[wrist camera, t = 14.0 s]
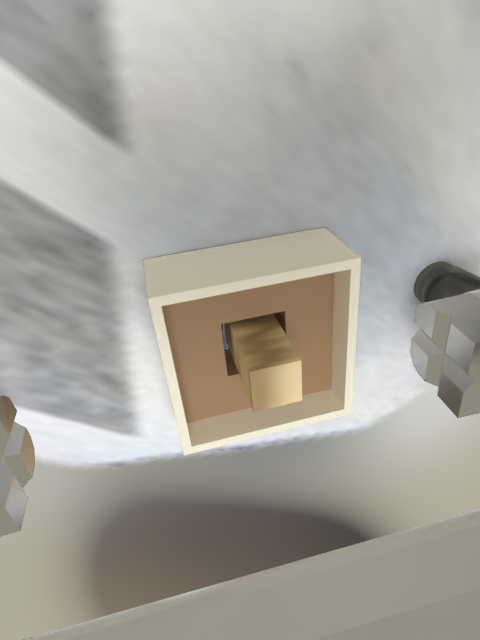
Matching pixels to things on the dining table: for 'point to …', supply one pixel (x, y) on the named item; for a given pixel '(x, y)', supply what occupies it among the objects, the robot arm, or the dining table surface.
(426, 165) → the dining table surface
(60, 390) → the dining table surface
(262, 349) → the peg
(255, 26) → the dining table surface
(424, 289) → the beverage cup
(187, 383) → the bore box
